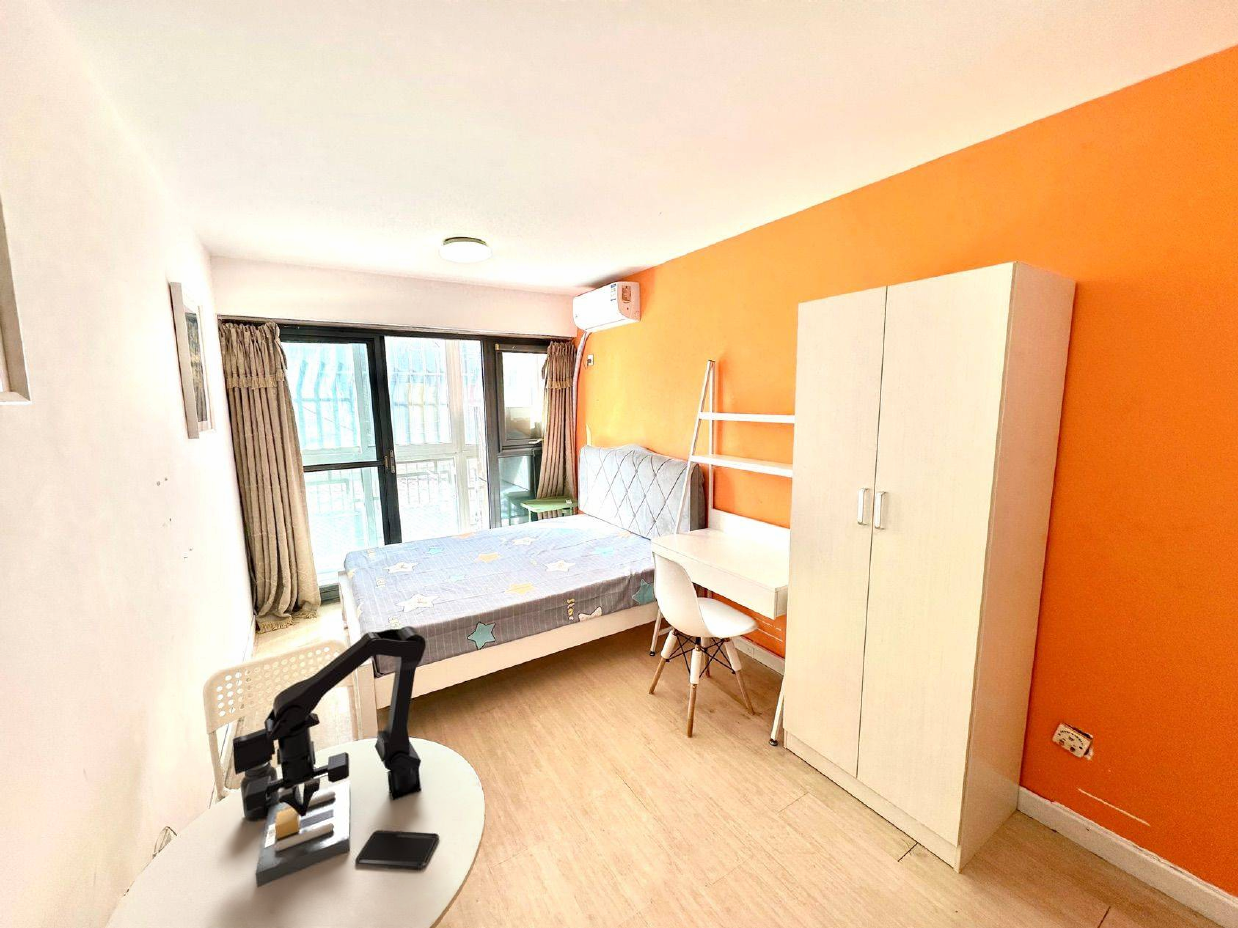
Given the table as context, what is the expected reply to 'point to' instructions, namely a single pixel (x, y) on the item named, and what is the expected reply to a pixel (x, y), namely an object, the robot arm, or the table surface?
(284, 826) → the block
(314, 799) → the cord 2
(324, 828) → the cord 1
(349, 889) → the table surface
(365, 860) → the phone
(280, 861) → the panel
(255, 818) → the supplement bottle
